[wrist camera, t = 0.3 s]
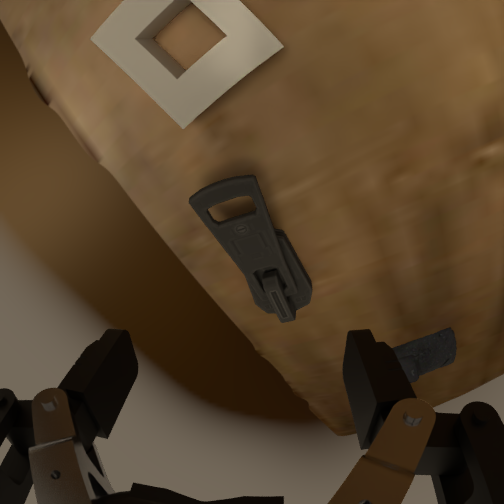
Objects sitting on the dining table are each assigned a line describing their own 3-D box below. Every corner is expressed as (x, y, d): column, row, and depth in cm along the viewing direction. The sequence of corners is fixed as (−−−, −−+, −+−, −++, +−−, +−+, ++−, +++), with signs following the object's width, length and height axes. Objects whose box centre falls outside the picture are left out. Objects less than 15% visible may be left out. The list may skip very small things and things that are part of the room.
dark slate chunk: (453, 357, 61) (459, 373, 57) (370, 387, 68) (372, 403, 64) (454, 321, 53) (461, 339, 49) (355, 357, 60) (358, 376, 56)
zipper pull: (257, 170, 31) (320, 327, 44) (260, 149, 36) (316, 295, 50) (179, 198, 33) (261, 339, 47) (193, 174, 38) (263, 308, 52)
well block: (111, 37, 28) (90, 39, 24) (191, -40, 22) (179, -51, 18) (194, 118, 34) (183, 129, 30) (282, 47, 28) (283, 46, 24)
